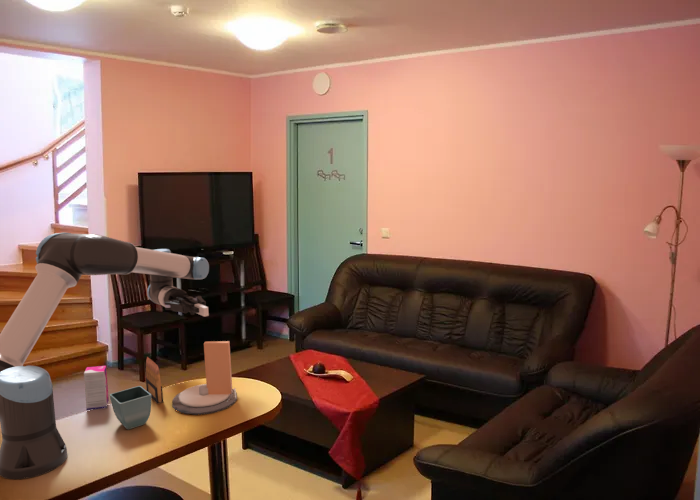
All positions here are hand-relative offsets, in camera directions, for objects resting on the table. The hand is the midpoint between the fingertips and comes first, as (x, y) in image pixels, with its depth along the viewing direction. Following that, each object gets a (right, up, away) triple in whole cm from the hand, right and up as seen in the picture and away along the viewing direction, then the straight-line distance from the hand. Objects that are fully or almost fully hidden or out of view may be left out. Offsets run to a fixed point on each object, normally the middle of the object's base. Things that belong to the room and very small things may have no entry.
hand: (206, 311), depth 184 cm
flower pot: (-16, -30, -18) cm, 38 cm away
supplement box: (-31, -28, -4) cm, 42 cm away
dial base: (+1, -27, -3) cm, 27 cm away
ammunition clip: (-16, -27, 0) cm, 31 cm away
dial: (+1, -25, -4) cm, 25 cm away
